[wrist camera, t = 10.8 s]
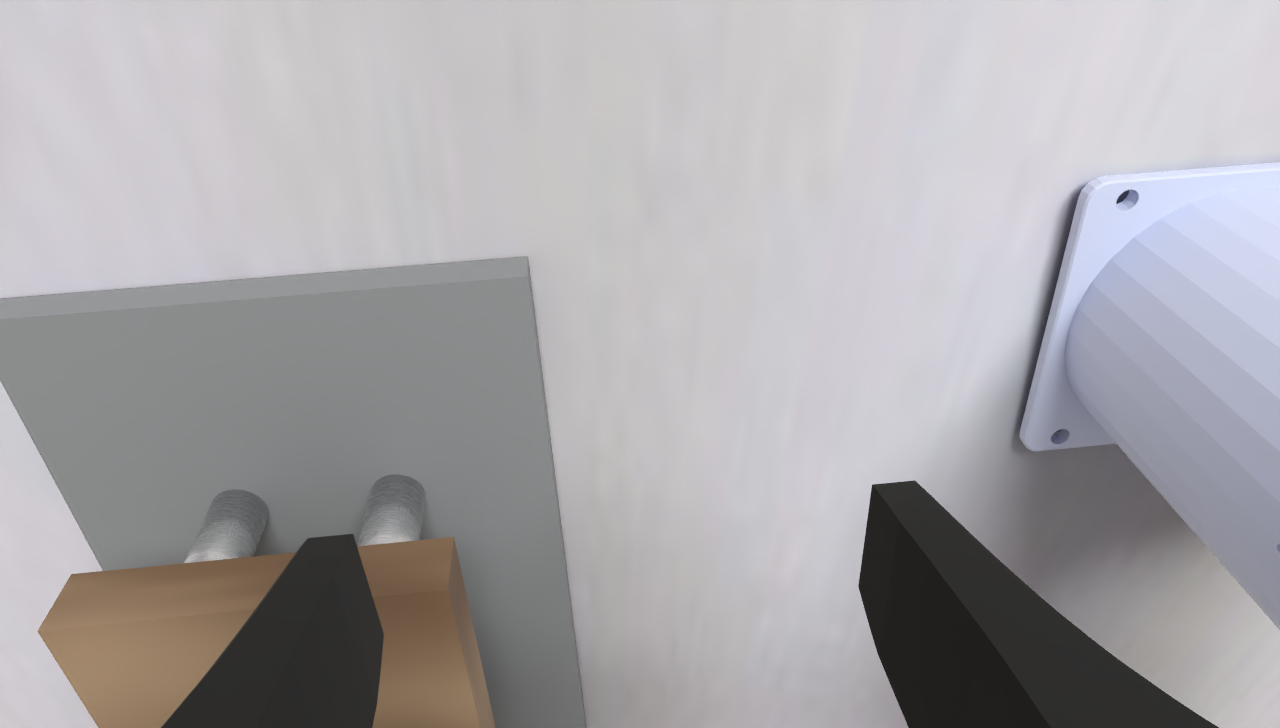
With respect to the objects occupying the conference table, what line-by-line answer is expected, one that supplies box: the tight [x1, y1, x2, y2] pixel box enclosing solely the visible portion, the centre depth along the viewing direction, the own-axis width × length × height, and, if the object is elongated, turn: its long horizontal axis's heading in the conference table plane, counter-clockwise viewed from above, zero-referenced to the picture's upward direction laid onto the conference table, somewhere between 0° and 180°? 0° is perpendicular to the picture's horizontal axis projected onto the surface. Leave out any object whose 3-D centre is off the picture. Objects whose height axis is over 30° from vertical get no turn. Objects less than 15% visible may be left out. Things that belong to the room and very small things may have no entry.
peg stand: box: [0, 256, 586, 728], centre depth 24 cm, size 12×22×4 cm, turn 2°
